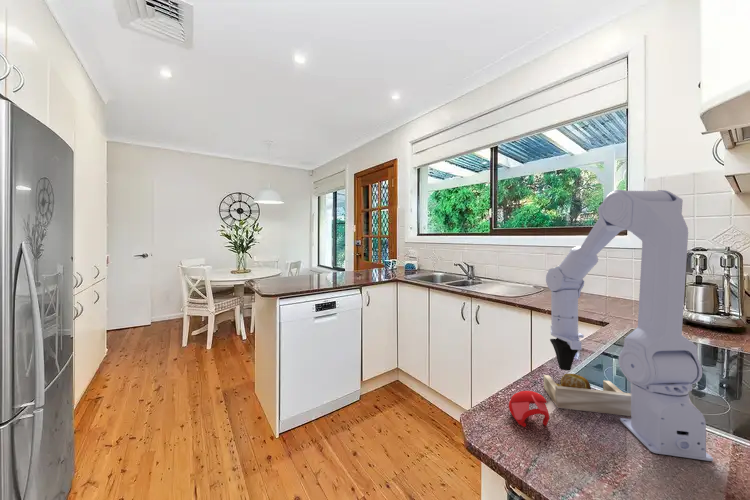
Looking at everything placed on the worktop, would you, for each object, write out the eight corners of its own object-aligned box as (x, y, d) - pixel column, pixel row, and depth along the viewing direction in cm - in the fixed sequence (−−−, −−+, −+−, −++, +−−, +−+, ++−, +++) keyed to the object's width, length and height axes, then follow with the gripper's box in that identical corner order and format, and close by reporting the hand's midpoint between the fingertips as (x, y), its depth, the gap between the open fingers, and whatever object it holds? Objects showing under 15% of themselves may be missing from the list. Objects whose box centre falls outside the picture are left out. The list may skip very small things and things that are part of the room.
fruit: (545, 389, 69) (545, 374, 69) (563, 381, 73) (563, 366, 73) (584, 405, 62) (584, 388, 62) (602, 395, 66) (602, 379, 66)
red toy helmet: (564, 415, 52) (547, 385, 57) (536, 408, 51) (521, 377, 56) (535, 437, 56) (521, 406, 61) (509, 431, 55) (497, 400, 60)
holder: (634, 416, 57) (634, 396, 57) (557, 407, 60) (557, 388, 60) (609, 394, 66) (609, 376, 66) (543, 387, 69) (543, 370, 69)
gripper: (596, 323, 66) (596, 383, 66) (570, 310, 80) (571, 360, 80) (561, 321, 68) (561, 380, 68) (542, 309, 82) (542, 357, 82)
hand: (564, 369), depth 74 cm, fingers closed
